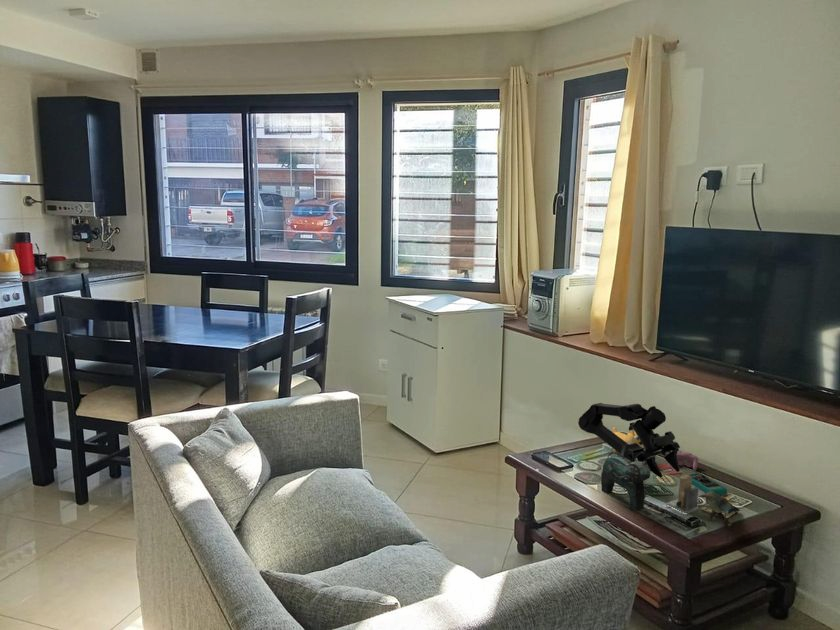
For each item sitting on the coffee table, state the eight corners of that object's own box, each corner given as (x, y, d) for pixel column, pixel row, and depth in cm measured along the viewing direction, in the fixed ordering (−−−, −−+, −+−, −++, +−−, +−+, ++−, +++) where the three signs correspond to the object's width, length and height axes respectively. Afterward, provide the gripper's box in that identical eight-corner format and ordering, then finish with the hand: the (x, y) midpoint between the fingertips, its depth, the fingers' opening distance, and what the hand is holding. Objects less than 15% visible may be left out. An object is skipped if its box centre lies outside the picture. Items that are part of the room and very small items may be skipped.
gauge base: (666, 506, 225) (667, 484, 223) (679, 501, 228) (681, 479, 227) (684, 514, 218) (686, 492, 217) (697, 509, 222) (699, 487, 221)
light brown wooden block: (674, 505, 222) (676, 478, 220) (685, 501, 225) (687, 474, 223) (680, 508, 220) (682, 481, 218) (691, 504, 223) (693, 477, 221)
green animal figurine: (649, 510, 221) (653, 456, 218) (635, 514, 219) (639, 459, 215) (609, 487, 239) (612, 437, 235) (595, 491, 236) (598, 440, 233)
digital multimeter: (700, 478, 248) (700, 471, 247) (727, 495, 234) (728, 487, 233) (684, 480, 246) (684, 473, 246) (710, 497, 232) (711, 490, 231)
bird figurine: (723, 503, 225) (710, 464, 216) (750, 515, 217) (738, 475, 208) (702, 530, 220) (688, 492, 211) (729, 543, 212) (716, 504, 203)
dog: (639, 466, 258) (641, 436, 255) (603, 449, 275) (605, 421, 273) (653, 463, 261) (655, 433, 259) (617, 446, 279) (619, 418, 276)
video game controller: (697, 472, 256) (699, 455, 257) (696, 471, 252) (698, 453, 254) (671, 467, 261) (673, 450, 263) (669, 465, 257) (672, 448, 259)
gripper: (642, 429, 224) (667, 470, 217) (677, 420, 234) (702, 459, 226) (623, 444, 232) (647, 483, 225) (658, 434, 242) (681, 472, 234)
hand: (670, 474), depth 227 cm, fingers open, 9 cm apart
